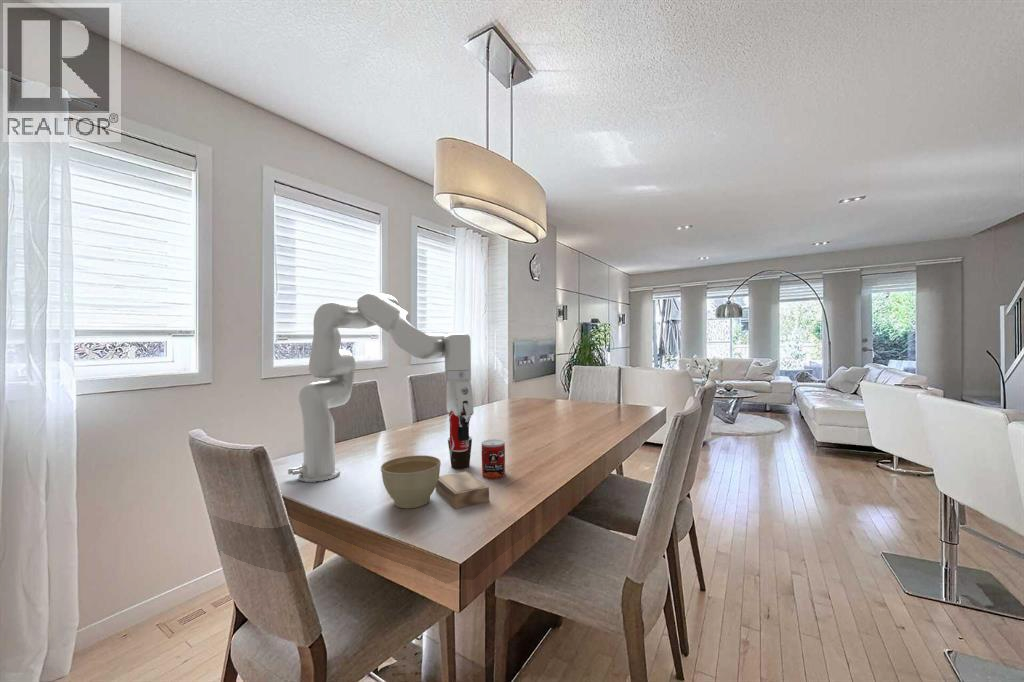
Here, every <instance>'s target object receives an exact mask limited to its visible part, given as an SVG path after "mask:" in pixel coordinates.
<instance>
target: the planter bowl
mask: <svg viewBox="0 0 1024 682" xmlns="http://www.w3.org/2000/svg"><path fill="white" fill-rule="evenodd" d="M441 462H442V461H441V459H440V458H438V457H436V456H433V455H425V454H424V455H422V454H421V455H420V454H419V455H417V454H416V455H407V456H401V457H396V458H392V459H389V460H387V461H385V462H383V463H382V464H381V466H380V472H381V476H382V477H381V478H382V482H383V485H384V488H385V490H386V492H387V494H388V495H389V497H390V498H391V499H392V500H393V502H394V505H395V506H396V507H398V508H400V509H413V508H415V509H416V508H418V507H421V506H424V505H427V504H428V503H429V501H430V499H431V495H432V494H433V492H434V491H435V490H436V485H437V482H438V479H439V476H440V473H441V469H440V468H441V465H442V464H441Z"/></svg>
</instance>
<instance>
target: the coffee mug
mask: <svg viewBox="0 0 1024 682" xmlns="http://www.w3.org/2000/svg"><path fill="white" fill-rule="evenodd" d="M472 442H473V437H472V436H470V435H469V448H468V450H466V451H463V452H454V451H452V450H451V449H450V436H449V437H448V438H447V444H448V450H449V452H448V453H449V458H450V459H449V460H450V465H451V466H450V467H451V469H454V470H465V468H466V469H468V468H469V467H470V465H471V455H472V454H471V453H472V444H473V443H472Z"/></svg>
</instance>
